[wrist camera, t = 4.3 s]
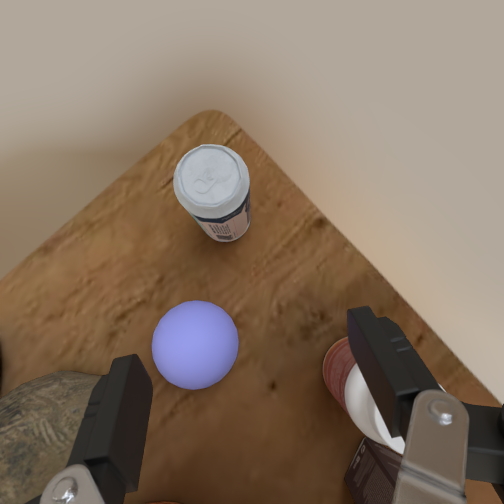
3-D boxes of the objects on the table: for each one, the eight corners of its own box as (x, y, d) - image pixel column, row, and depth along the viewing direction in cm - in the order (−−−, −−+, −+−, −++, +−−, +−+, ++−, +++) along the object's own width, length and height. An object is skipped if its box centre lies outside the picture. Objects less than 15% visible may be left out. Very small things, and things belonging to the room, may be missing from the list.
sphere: (255, 345, 30) (256, 362, 23) (193, 392, 30) (175, 423, 23) (211, 283, 31) (199, 282, 24) (150, 328, 31) (119, 341, 24)
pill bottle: (320, 402, 30) (359, 469, 19) (322, 332, 31) (361, 358, 20) (389, 406, 30) (469, 475, 19) (389, 336, 30) (467, 363, 19)
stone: (-3, 520, 29) (-101, 609, 21) (-46, 428, 30) (-156, 480, 22) (167, 415, 30) (136, 462, 22) (120, 329, 30) (74, 343, 23)
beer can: (261, 215, 32) (265, 172, 20) (228, 253, 31) (212, 231, 19) (223, 183, 32) (206, 121, 20) (190, 220, 32) (152, 178, 20)
